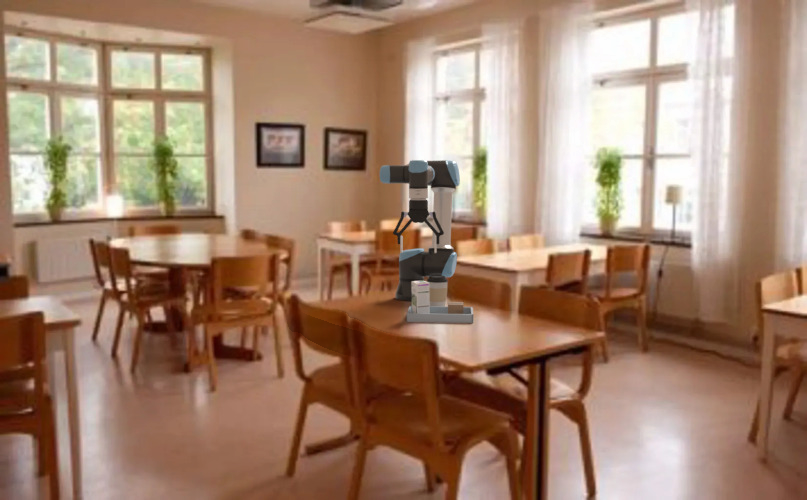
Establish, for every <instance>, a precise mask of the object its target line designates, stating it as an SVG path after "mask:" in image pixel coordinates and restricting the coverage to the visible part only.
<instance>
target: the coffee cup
mask: <svg viewBox="0 0 807 500" xmlns="http://www.w3.org/2000/svg"><path fill="white" fill-rule="evenodd" d="M426 282H429V295H430V306H442V307H446V303H447V295H448V282H449V280H448V277H445V276H442V275H432V276H431V275H430V276H429V277H427V280H426Z"/></svg>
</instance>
